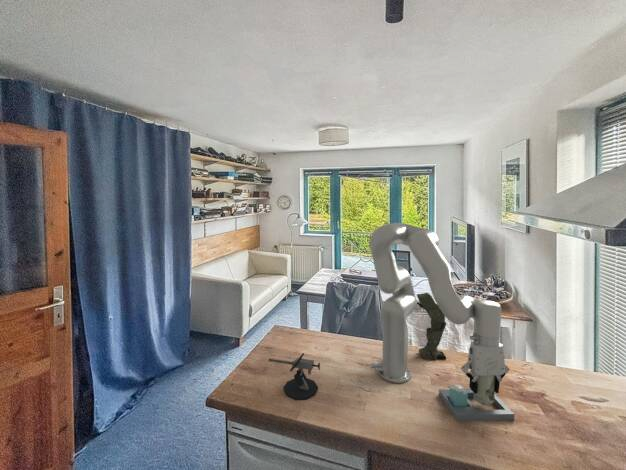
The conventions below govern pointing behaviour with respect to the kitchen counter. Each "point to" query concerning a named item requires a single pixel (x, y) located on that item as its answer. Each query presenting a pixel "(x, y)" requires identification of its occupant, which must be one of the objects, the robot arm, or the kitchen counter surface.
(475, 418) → the frame
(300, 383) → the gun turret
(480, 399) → the box
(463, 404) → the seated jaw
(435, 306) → the mechanical leg
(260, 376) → the kitchen counter surface
